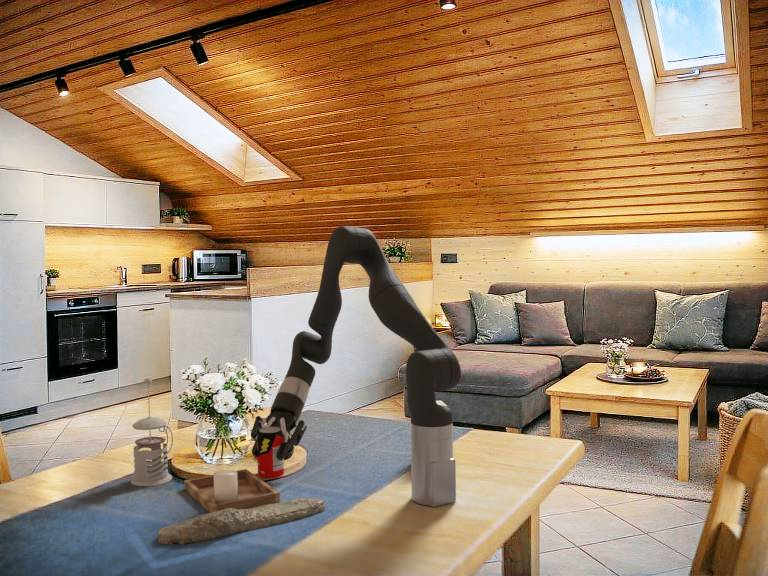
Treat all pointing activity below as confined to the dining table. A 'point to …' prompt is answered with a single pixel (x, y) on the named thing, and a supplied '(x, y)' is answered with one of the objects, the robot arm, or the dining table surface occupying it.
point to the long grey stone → (238, 520)
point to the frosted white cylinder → (225, 486)
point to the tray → (249, 492)
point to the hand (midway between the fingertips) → (266, 457)
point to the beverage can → (269, 452)
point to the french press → (151, 452)
